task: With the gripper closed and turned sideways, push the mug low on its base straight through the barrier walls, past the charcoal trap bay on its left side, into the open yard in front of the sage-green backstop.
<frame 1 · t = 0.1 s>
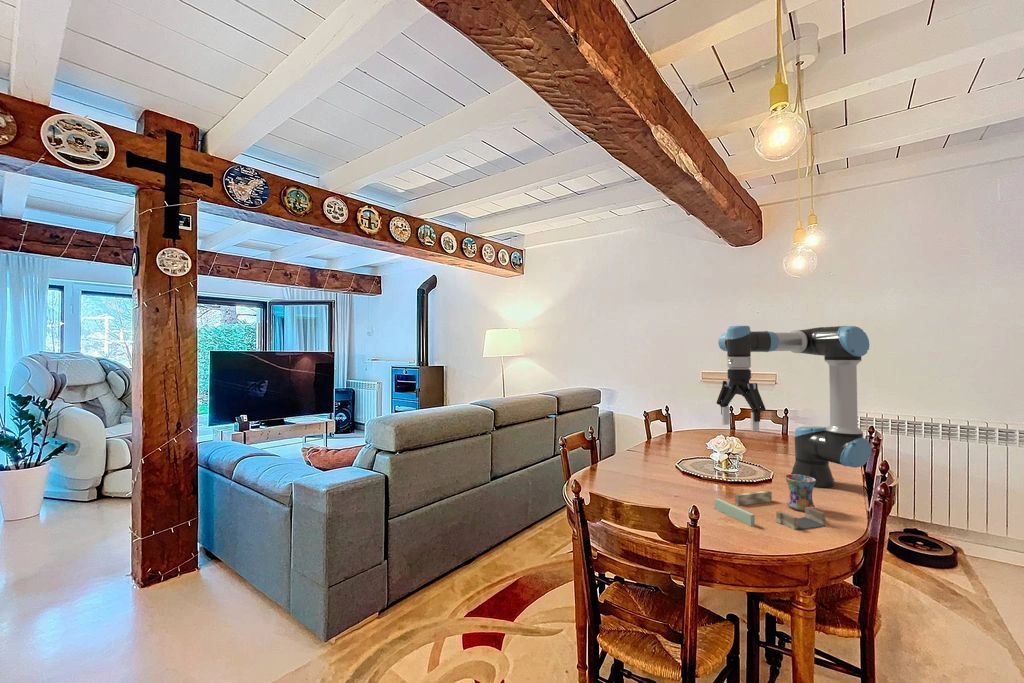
hand: (740, 427, 159), 28 cm above the table, fingers open, 13 cm apart
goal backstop: (733, 516, 148), on the table
barrier walls: (775, 510, 153), on the table
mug: (801, 507, 156), on the table
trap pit: (803, 523, 142), on the table
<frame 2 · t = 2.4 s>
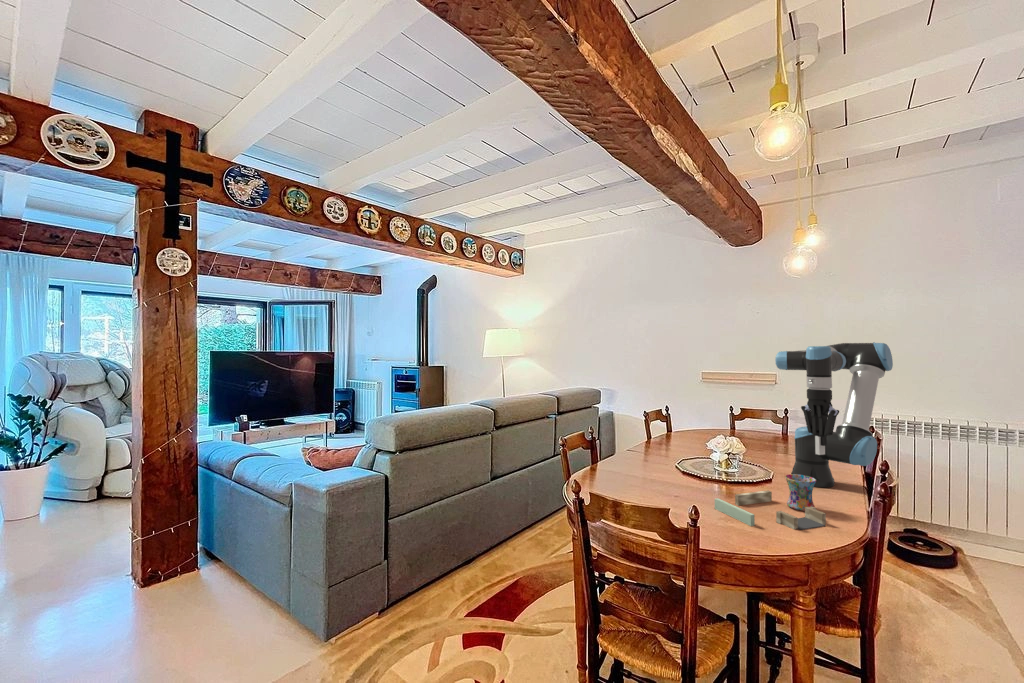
hand: (820, 454, 159), 18 cm above the table, fingers closed
nothing on the table moved.
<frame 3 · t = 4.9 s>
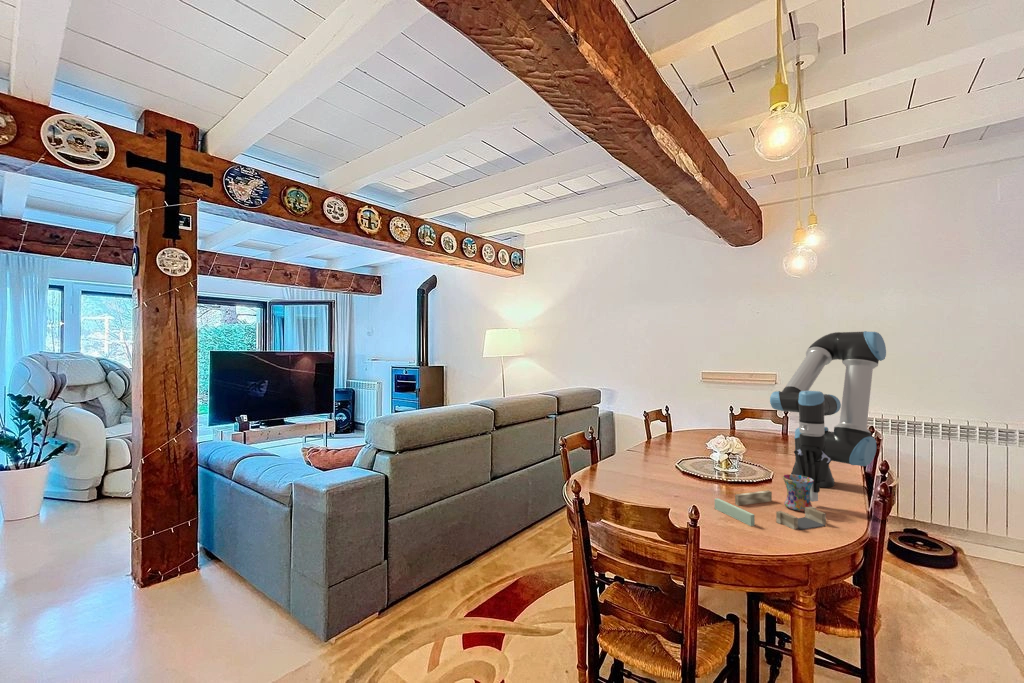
hand: (813, 500, 158), 2 cm above the table, fingers closed
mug: (799, 508, 156), on the table, touching gripper, hand
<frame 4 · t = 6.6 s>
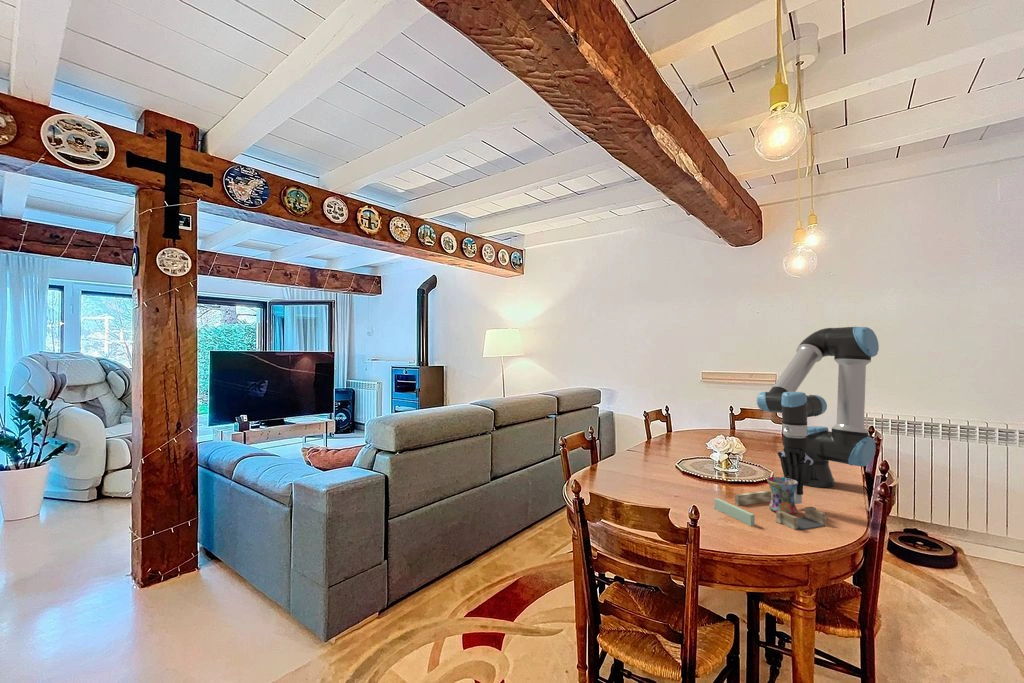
hand: (797, 502, 156), 2 cm above the table, fingers closed
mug: (784, 510, 154), on the table, touching gripper, hand
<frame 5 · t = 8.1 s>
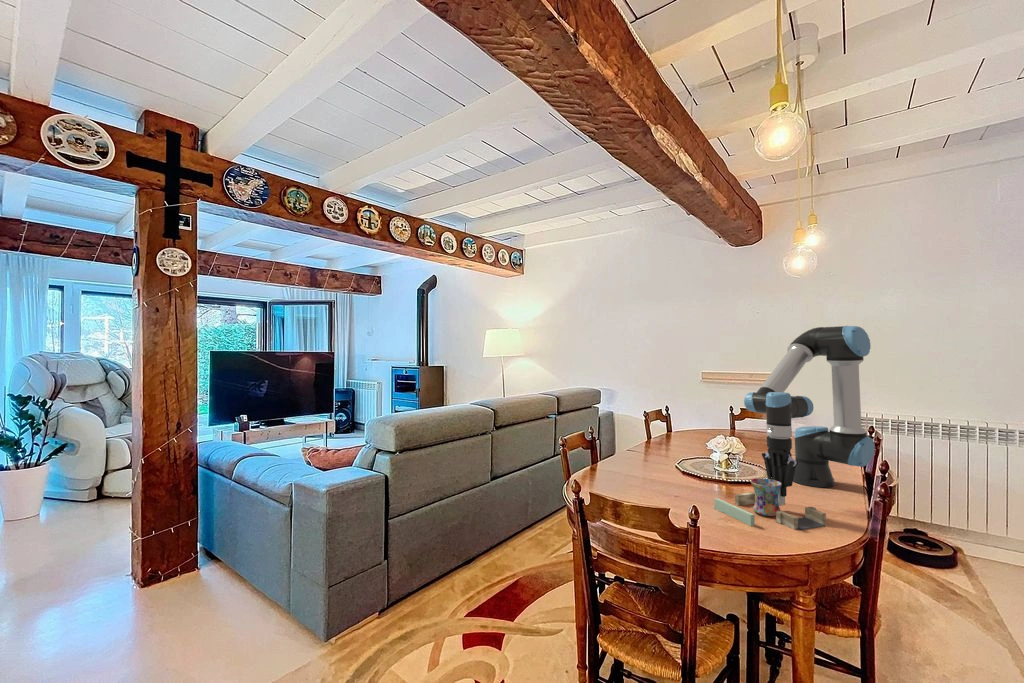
hand: (780, 504, 154), 2 cm above the table, fingers closed
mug: (768, 512, 152), on the table, touching gripper, hand
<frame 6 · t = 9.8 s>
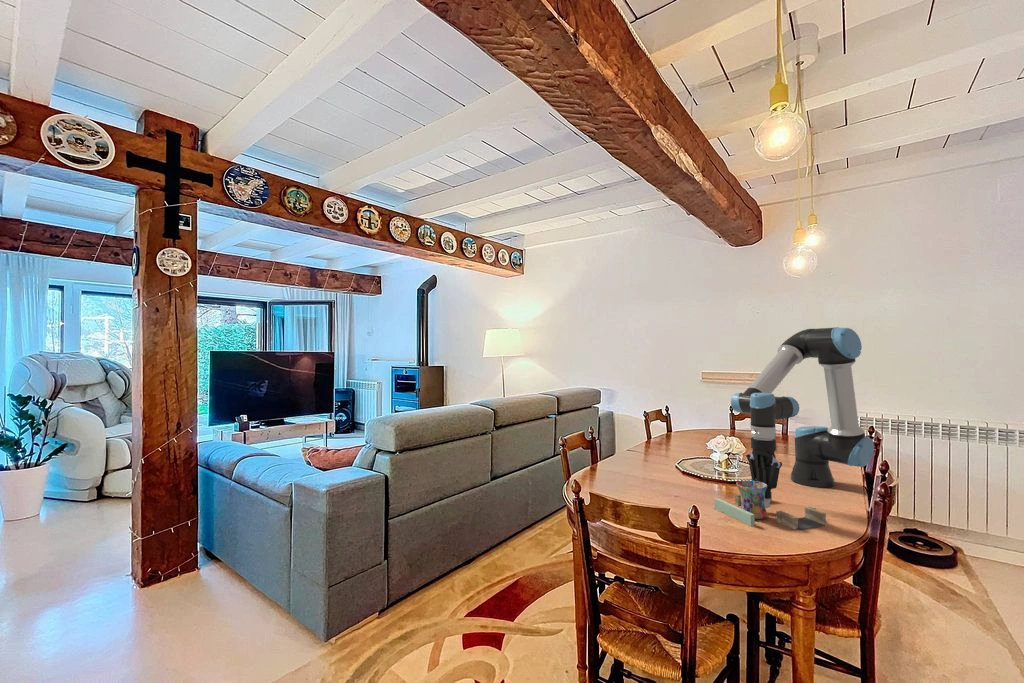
hand: (764, 506, 152), 2 cm above the table, fingers closed
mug: (754, 515, 149), on the table, touching gripper, hand
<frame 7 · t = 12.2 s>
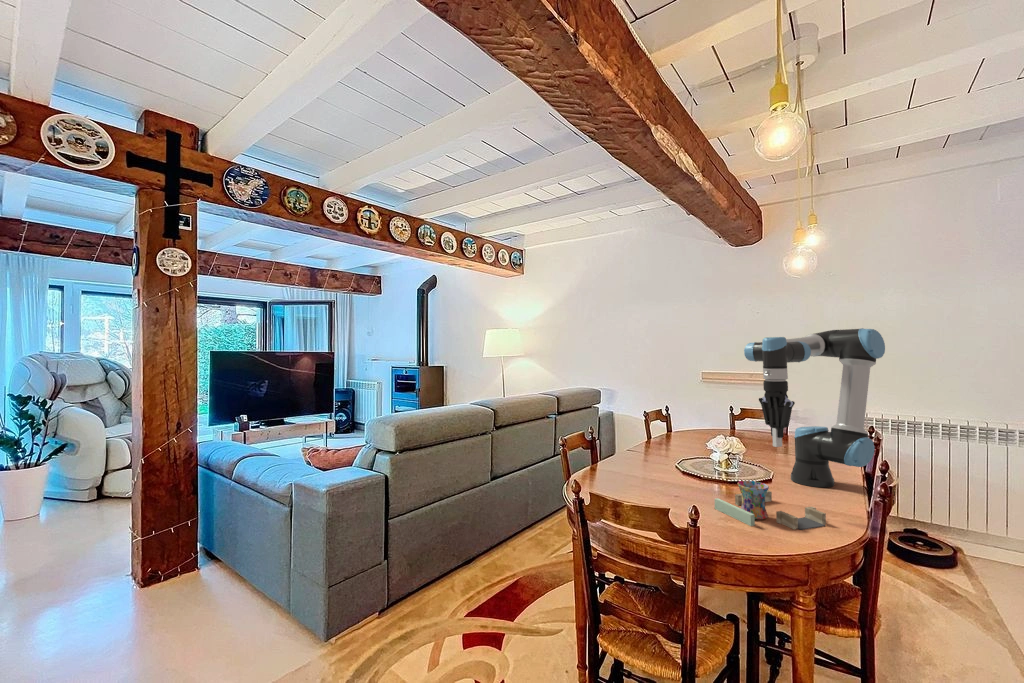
hand: (777, 446, 157), 21 cm above the table, fingers closed
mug: (754, 515, 149), on the table
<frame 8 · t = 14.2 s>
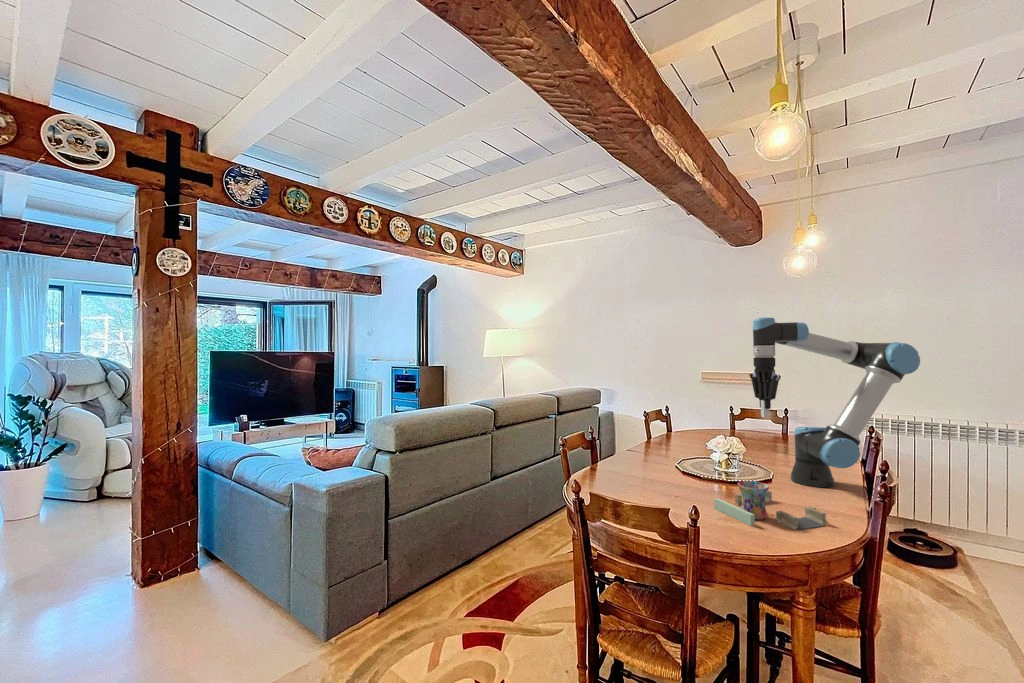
hand: (765, 416, 174), 29 cm above the table, fingers closed
nothing on the table moved.
at the end: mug inside the target area (1.6 cm from its centre), on the table; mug tilted 0° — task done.
